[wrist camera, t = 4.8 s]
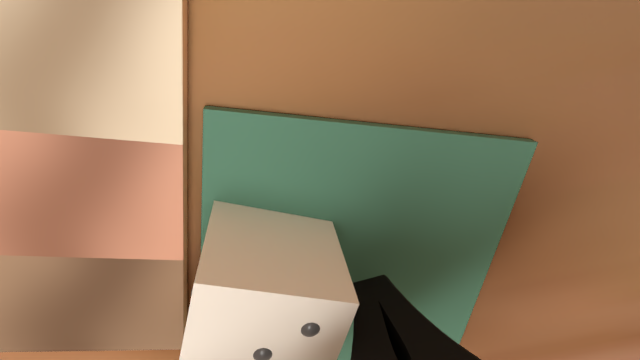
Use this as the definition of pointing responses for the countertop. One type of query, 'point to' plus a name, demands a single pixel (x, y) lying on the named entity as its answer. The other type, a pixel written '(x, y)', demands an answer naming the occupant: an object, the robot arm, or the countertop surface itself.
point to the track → (93, 174)
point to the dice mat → (376, 196)
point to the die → (268, 289)
